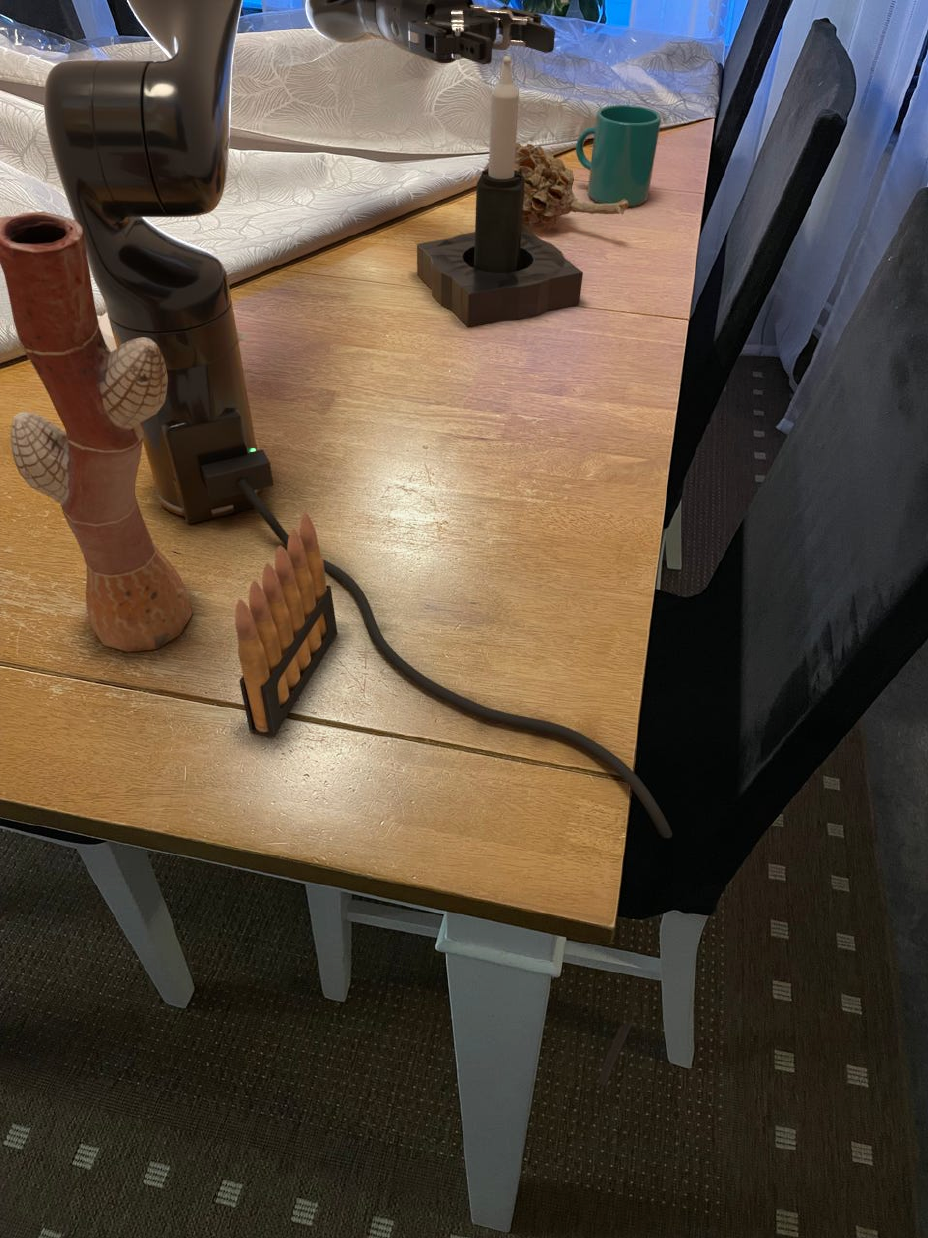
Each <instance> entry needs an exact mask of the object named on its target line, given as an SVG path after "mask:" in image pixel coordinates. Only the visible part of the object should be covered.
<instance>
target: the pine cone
mask: <svg viewBox="0 0 928 1238" xmlns="http://www.w3.org/2000/svg"><path fill="white" fill-rule="evenodd" d="M487 161H488V162H487V164H486V165H485V166H484V170H486V169H489V158H488V159H487ZM484 170H482V171H481V173H482V172H483V171H484ZM514 170H516V171H518V172H520V173H521V176H523V177H524V178H525V185H524V200H523V214H522V225H525V224H527V223H529V225H531V226H532V227H533V228H534V227H536V226H538V225H540V224H542V226H543V228H545V229H546V230H549V229H553V228H554V227H555V226H556V224H557V220H559V219H560V218H561V217H562V216H565V215H569V214H570V213H571V212H572V213H581V214H582V213H585V214H591V215H595V214H598V215H616V214H617V215H621V216H623V215H624V214H625V211H626V210H627V209H628V208H629V207H628V206H629V205H628V200H627V201H625V199H623V200H622V201H620V202H618V203H613V204H600V203H596V202H595V203H589V202H585V201H580V200H579V201H578V199H579V198H576V195H575V193H574V191H573V186H574V182H575V175H574V171H573V170H572V169H569V168H567V167H566V166H565V163H564V161H563V160H562V159H561V158H555V157H554V155H553V154H552V153H546V154H545V150H544V149H543V147H542V146H541V145H538V146H534V145H533V144H532V143H527V144H526V145H522V144H520V143H519V142H518V143H517V142H516V152H515V169H514Z"/></svg>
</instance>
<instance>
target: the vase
mask: <svg viewBox="0 0 928 1238" xmlns="http://www.w3.org/2000/svg"><path fill="white" fill-rule="evenodd" d="M0 267H1V269H2V272H3V276H4V280H5V285H6V288H7V295H8V298H9V304H10V308H11V314H12V320H13V324H14V327H15V330H16V334H17V337H18V341H19V344H20V346H21V348H22V349H23V351H24V353H25V354H26V356H27V358H28V360H29V362H30V363H31V365H32V366H33V368H34V370H35V372H36V374H37V375H38V377H39V379H40V381H41V383H42V385H43V386H44V388H45V390H46V392H47V394H48V396H49V398H50V401H51V403H52V405H53V407H54V409H55V411H56V413H57V416H58V417H59V419H60V421H61V423H62V426H63V427H64V430H65V431H64V430H63V429H61V428H60V427H59V426H58V425H56V424H54V423H53V422H51V421H50V420H48V419H47V418H45V417H43V416H42V415H40V414H36V413H33V412H29V411H27V412H25V411H21V412H19V413H16V415H14V417H13V419H12V423H11V427H10V448H11V455H12V458H13V461H14V464H15V466H16V468H17V471H18V473H19V475H20V476H21V477H22V478H23V480H24V481H25V482H26V484H28V486H29V487H30V488H31V489H34V490H35V491H38V492H39V493H41V494H43V495H46V496H47V497H49V498H51V499H52V500H53V501H55V502H57V503H58V504H59V505H60V506H61V511H62V514H63V516H64V518H65V521H66V523H67V525H68V527H69V528H70V530H71V532H72V534H73V536H74V537H75V539H76V541H77V544H78V546H79V548H80V550H81V553H82V555H83V558H84V563H85V565H86V583H85V584H86V585H85V606H86V612H87V617H88V619H89V620H88V621H89V623H90V626H91V628H92V630H93V632H94V633H95V634H96V636H97V637H98V639H99V641H100V642H101V644H102V645H103V646H105V647H109V648H112V649H117V650H120V651H123V652H127V653H133V652H142V651H152V650H157V649H159V648H161V647H163V646H164V645H166V644H167V643H170V642H171V641H172V640H174V639H176V638H178V637H179V636H180V635H181V634H182V632H183V630H184V629H185V627H186V626H187V623H188V622H189V621H190V618H191V617H192V615H193V612H192V608H191V602H190V599H189V594H188V591H187V589H186V586H185V584H184V581H183V580H182V578H181V576H180V574H179V572H178V571H177V570H176V568H175V567H174V565H173V564H172V563H171V561H170V560H169V559H168V558H167V557H166V556H165V555H164V554H163V553H162V552H161V550H160V549H159V548H158V547H157V545H156V544H155V543H154V542H153V539H152V537H151V534H150V532H149V529H148V527H147V525H146V522H145V520H144V517H143V515H142V512H141V511H142V510H141V509H140V505H139V503H138V498H137V495H136V482H137V476H138V472H139V466H140V462H141V458H142V451H143V445H144V444H143V436H144V435H143V422H142V421H144V420H146V419H148V418H150V417H151V416H153V415H155V414H157V412H158V411H159V410H160V408H161V407H162V405H163V404H164V403H165V398H166V393H167V384H168V376H167V370H166V365H165V360H164V358H163V356H162V353H161V351H160V349H159V348H158V346H157V344H156V343H155V342H154V341H152V340H151V339H149V338H145V337H142V338H137V339H133V340H130V341H127V342H125V343H124V344H122V345H120V346H119V347H118V348H117V349H115V350H114V351H112V352H111V351H110V350H109V348H108V346H107V345H106V343H105V341H104V338H103V335H102V333H101V330H100V327H99V323H98V318H97V316H98V313H97V309H96V304H95V297H94V291H93V285H92V278H91V270H90V266H89V263H88V260H87V253H86V243H85V235H84V231H83V227H82V226H81V225H79V224H78V223H77V222H76V221H75V220H74V219H72V218H69V217H66V216H63V215H60V214H55V213H51V212H48V211H47V212H46V211H30V212H22V213H20V214H18V215H5V216H1V217H0Z"/></svg>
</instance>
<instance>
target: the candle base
mask: <svg viewBox="0 0 928 1238" xmlns="http://www.w3.org/2000/svg"><path fill="white" fill-rule="evenodd" d="M474 251H475V231H473V232H466V233H461V234H457V235H455V236H451V237H448V238H443V239H436V240H430V241H425V242H418V243H416V276H417V277H418V278H419V279H420V280H421V281H422V282H423V283H424V284H425V285H426V286H427V287H428V288H429V289H430V290H431V294H432V297H433V298H434V300H436V301H437V302H438V304H439V305H441V306H443V307H444V308H446V309H448V310H449V311H451V312H452V313H453V314H454V315H455V316H456V317H457V318H458V319H459V320H461V322H462V323H463V324H464V325H465V326H466V327H467V328H470V327H474V326H479V325H480V326H481V325H484V324H485V325H486V324H490V323H494V322H499V321H500V322H501V321H514V320H515V321H518V320H522V319H528V318H533V317H537V316H539V315H541V314H544V313H546V312H549V311H554V310H559V309H563V308H569V307H573V306H574V307H575V306H578V305H580V300H581V292H582V285H583V275H584V272H583V271H582V270H580V269H579V268H578V267H577V266H575V264H573V263H572V262H571V261H569V260H568V259H567V258H566V257H565V256H564V254H563V252H562V251H561V250H560V248H558V247H556V246H555V245H554V244H552V243H550V242H548V241H546V240H543V239H542V238H540V237H539V236H537V235H536V234H535V233H533V231H532V230H530V229H529V228H527V227H526V226H524V225H522V229H521V243H520V258H519V271H516V272H511V273H492V272H484V271H481V270H477V269H475V268H474Z"/></svg>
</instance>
